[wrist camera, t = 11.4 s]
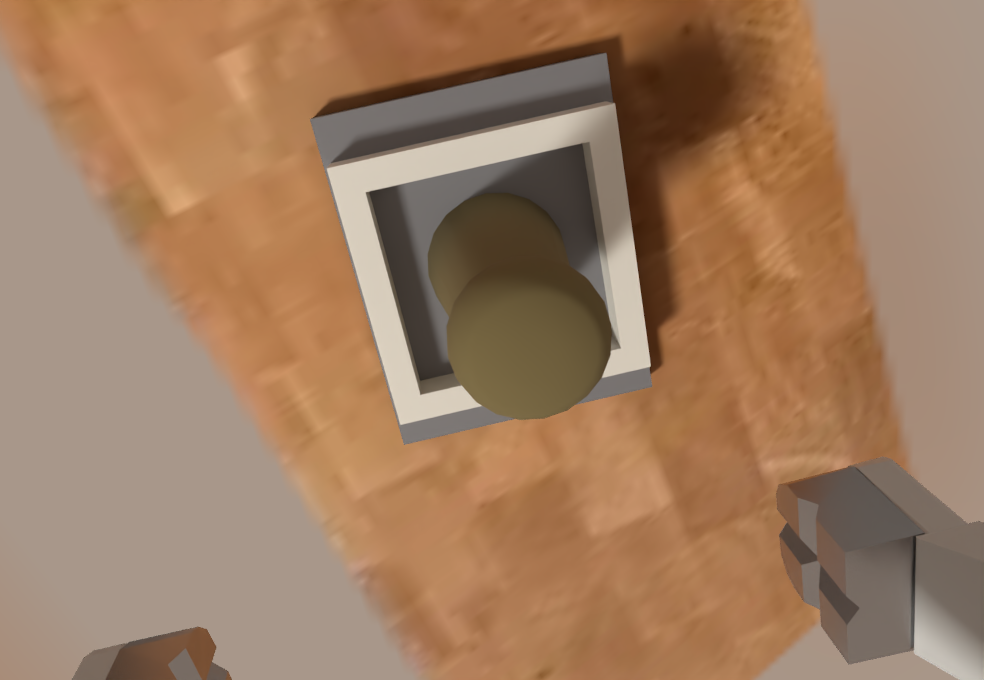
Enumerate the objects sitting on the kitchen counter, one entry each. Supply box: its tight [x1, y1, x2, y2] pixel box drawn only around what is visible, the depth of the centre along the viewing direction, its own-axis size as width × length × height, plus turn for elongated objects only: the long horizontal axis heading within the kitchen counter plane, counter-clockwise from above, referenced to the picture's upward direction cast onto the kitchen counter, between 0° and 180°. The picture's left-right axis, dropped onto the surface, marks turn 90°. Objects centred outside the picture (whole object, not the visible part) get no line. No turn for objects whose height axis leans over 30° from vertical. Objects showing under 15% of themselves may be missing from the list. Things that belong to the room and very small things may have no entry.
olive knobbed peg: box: [428, 193, 612, 420], centre depth 27 cm, size 6×6×11 cm
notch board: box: [310, 53, 652, 445], centre depth 32 cm, size 15×12×2 cm
